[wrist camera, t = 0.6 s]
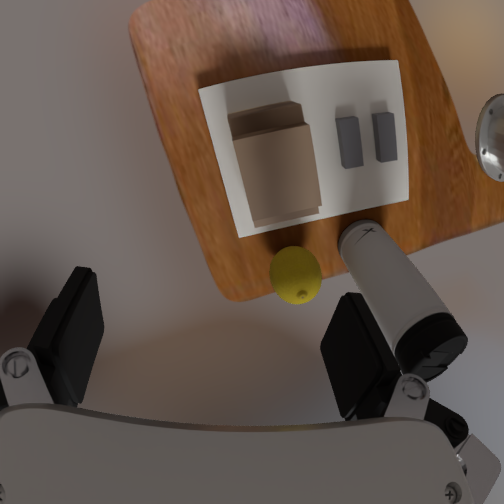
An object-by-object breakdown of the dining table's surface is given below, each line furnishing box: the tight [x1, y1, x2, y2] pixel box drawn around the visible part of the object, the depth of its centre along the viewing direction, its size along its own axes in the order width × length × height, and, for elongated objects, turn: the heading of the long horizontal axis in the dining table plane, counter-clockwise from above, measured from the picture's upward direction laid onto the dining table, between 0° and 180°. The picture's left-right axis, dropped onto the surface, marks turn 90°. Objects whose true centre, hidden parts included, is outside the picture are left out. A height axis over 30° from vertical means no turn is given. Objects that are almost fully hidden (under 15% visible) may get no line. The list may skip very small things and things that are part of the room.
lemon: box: [269, 246, 322, 304], centre depth 34 cm, size 6×6×8 cm
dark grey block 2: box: [372, 112, 398, 163], centre depth 28 cm, size 2×5×1 cm, turn 12°
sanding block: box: [227, 100, 322, 228], centre depth 27 cm, size 6×10×6 cm, turn 12°
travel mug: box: [338, 220, 468, 383], centre depth 29 cm, size 6×7×20 cm
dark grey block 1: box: [335, 116, 364, 169], centre depth 29 cm, size 2×5×1 cm, turn 13°
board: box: [198, 60, 409, 238], centre depth 30 cm, size 20×16×2 cm
